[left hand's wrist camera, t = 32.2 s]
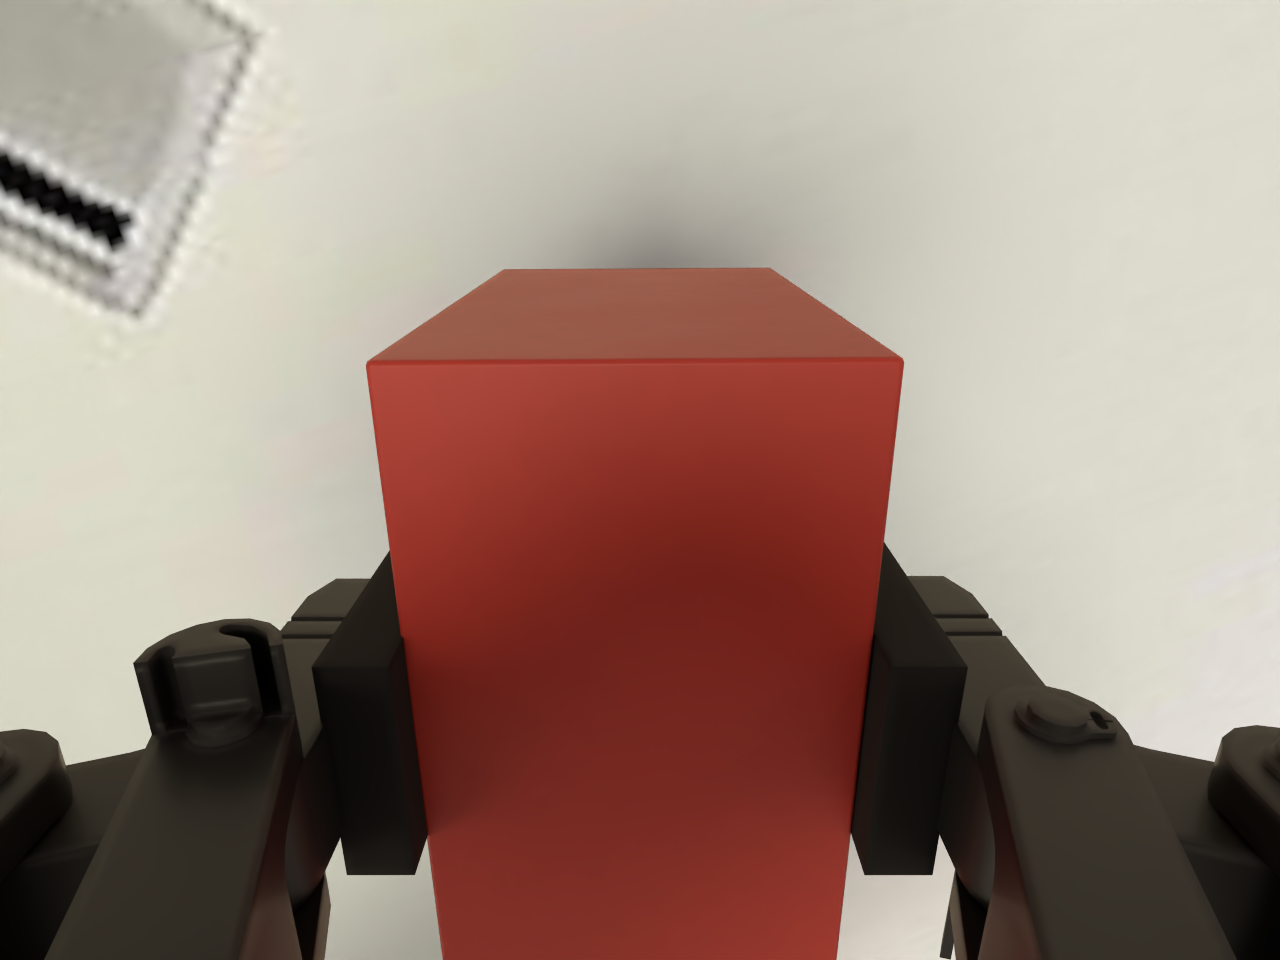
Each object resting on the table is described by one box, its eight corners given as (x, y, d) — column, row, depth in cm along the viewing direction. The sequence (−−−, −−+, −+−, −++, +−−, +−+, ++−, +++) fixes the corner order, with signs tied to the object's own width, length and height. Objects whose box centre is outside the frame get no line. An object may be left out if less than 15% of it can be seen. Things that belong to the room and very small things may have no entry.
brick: (751, 656, 18) (833, 1001, 10) (527, 657, 18) (447, 1002, 10) (771, 267, 15) (906, 357, 7) (502, 268, 15) (364, 360, 7)
